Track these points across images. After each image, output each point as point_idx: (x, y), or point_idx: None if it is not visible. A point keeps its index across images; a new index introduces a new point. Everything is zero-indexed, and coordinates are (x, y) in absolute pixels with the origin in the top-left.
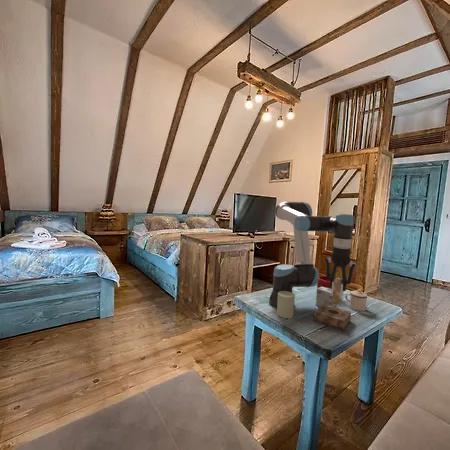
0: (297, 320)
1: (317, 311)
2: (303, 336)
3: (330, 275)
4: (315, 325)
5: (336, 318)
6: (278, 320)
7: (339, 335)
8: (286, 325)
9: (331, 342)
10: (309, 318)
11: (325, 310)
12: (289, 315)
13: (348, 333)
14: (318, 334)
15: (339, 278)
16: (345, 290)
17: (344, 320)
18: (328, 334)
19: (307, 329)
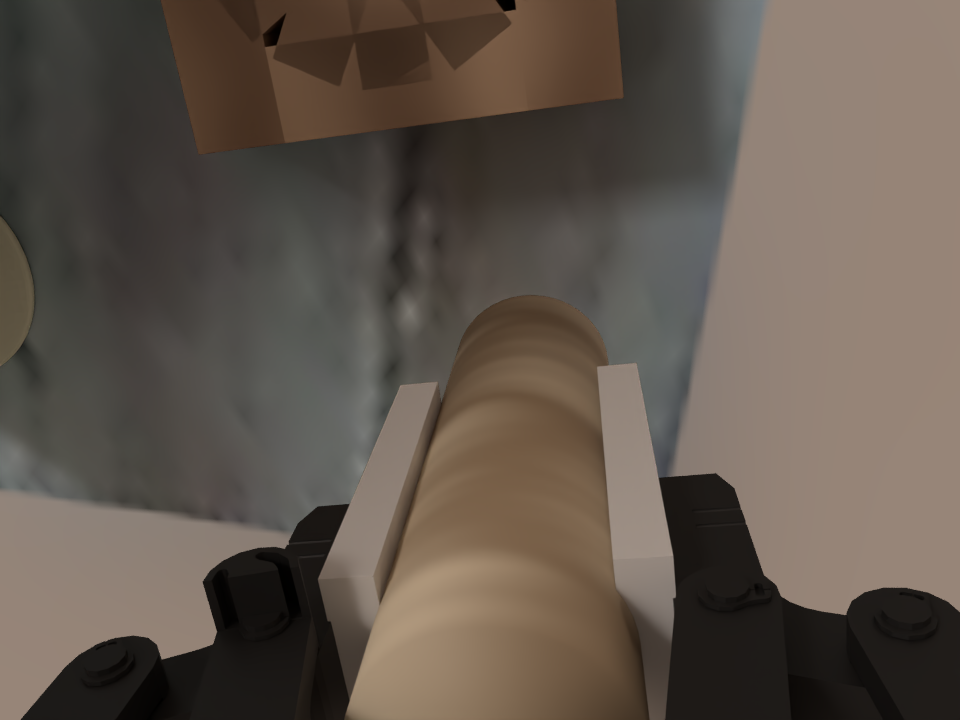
0: (122, 298)
1: (207, 111)
2: None
3: (116, 715)
4: (321, 238)
5: (509, 105)
6: (15, 465)
7: (623, 238)
8: (137, 492)
9: None
10: (166, 119)
11: None
12: (10, 332)
13: (689, 93)
14: None
15: (490, 689)
16: (716, 483)
17: (620, 68)
18: None
19: (318, 398)
